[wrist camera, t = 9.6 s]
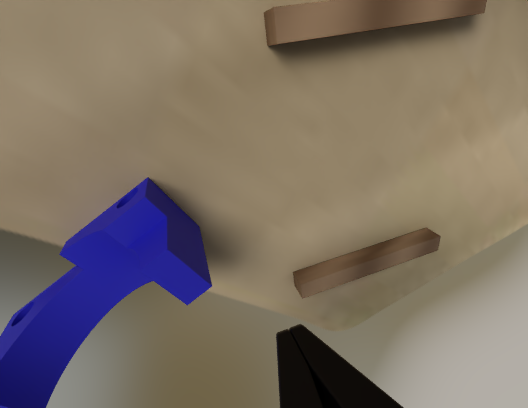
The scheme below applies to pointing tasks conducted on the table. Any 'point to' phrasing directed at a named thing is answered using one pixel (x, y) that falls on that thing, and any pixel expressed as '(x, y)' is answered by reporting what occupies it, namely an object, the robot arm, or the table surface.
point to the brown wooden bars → (346, 22)
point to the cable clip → (100, 288)
